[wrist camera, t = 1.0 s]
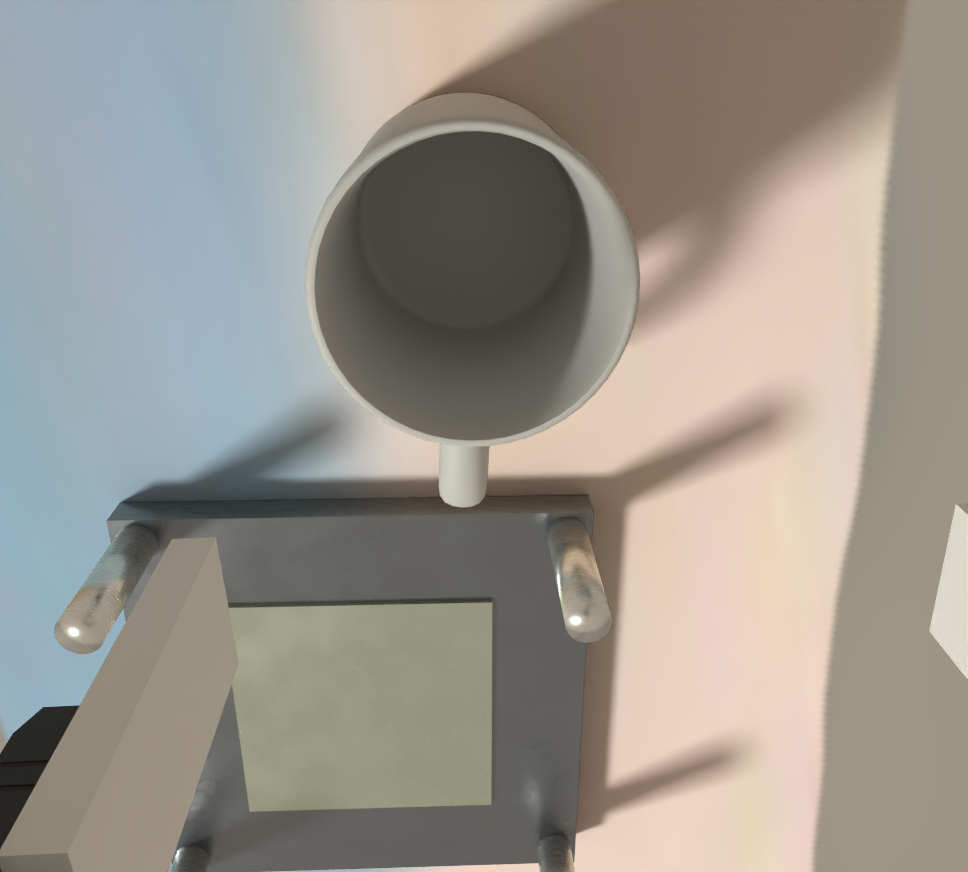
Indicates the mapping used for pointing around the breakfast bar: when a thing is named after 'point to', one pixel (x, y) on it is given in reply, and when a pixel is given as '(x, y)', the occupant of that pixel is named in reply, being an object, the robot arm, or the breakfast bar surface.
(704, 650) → the breakfast bar surface
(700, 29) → the breakfast bar surface
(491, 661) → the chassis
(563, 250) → the mug
